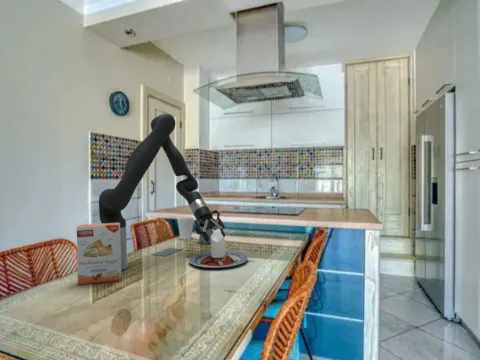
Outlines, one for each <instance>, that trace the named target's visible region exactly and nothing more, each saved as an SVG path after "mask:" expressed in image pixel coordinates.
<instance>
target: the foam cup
mask: <svg viewBox="0 0 480 360" xmlns="http://www.w3.org/2000/svg"><path fill="white" fill-rule="evenodd" d="M193 223H194V216H180V217H179V216H178V217H177V226H178V232H179V237H180V240H181V239H184V240H183V241H187V240H186V239H190V240H192V234H193V228H194V226H193Z"/></svg>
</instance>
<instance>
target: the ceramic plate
mask: <svg viewBox="0 0 480 360" xmlns="http://www.w3.org/2000/svg"><path fill="white" fill-rule="evenodd" d="M248 259H249V257H248V256H247V254H245V253H243V252H240V251H235V250H225V256H224V257H221V258H213V257H211V250H210V251H204V252H199V253H196V254H193V255H192V256H190V257H189V258H188V262H189V263H190V264H191V265H193V266H196V267H201V268H208V269H209V268H210V269H221V268H229V267H234V266H237V265H241V264H244V263H245V262H246V261H247V260H248Z"/></svg>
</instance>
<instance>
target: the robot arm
mask: <svg viewBox="0 0 480 360" xmlns="http://www.w3.org/2000/svg"><path fill="white" fill-rule="evenodd" d="M150 128H151V131H150V132H149V134H148V135H147V136H146V137H145V138H144V139H143V140H142V141H141V142H140V143H139V144H138V145H137V146H136V147H135V148H134V150H133V152H132V153H131V154H130V156H129V157H128V159H127V161H126V165H125V168H124V174H123V175H122V178H121V179H120V180H119V182H118V183H117V185H116V186H115V187H114V188H106V189H104V190H103V191H101V192H100V194H99V197H98V212H99V220H100V224H104V223H120V242H121V271H123V270H126V269H127V268H128V251H127V250H128V247H127V246H128V245H127V244H128V243H127V221H126V219H125V218H124V217H123V214H122V211H123V210H124V209H126V208H127V206H129V203H130V201H131V199H132V198H133V194H134V193H135V191H136V190H137V186H138V185H139V183H140V182H141V181H142V179H143V177H144V176H145V174H146V172H147V171H148V170H149V168H150V167H151V164H152V163H153V162H154V160H155V157H156V156H157V155H158V153H159V152H160V150H161V148H162V150H163V151H164V153H165V156H166V157H167V159H168V161H169V164H170V166H171V169H172V171H173V173H174V176H175V177H181V176H185V177H186V178H185V179H182V180H179V181H178V182H176V184H175V185H176V186H175V187H176V191H177V192H178V194H179V195H181V196H182V197H183V198H184V199H185V200H186V202H187V204H188V206H189V208H190V210H191V212H192V215H193V214H194V215H193V217H194V219H195V220H194V221H193V228H194V230H195V233H196V235H197V236H198V235H200V234H201V235H202V236H203V238H204V240H205V241H206V242H207V241H209V239H210V238H209V236H208V234H207V232H205V231H206V230H208V229H212V230H213V231H215V230H217V229H220V230H221V233H222V235H223V237H224V238H225V237H226V233H225V231H224V229H225V227H226V226H225V224H224V223H223V221H222V220H221V218H220V217H219V218H217V217H216V218H214V216H213V215H212V213H211V211H212V210H210V208H209V206H208V204H207V203H206V201H205V200H204V198H203V197H202V195H201V193H200V192H199V191H197V190H198V189H199V183H198V180H197V179H196V178H195V177H194V175H193V174H192V173H191V171H190V169H189V168H188V166H187V163H186V160H185V158H184V156H183V154H182V153H181V151H180V150H179V149H178V147H176V145H175V144H174V142H173V140H172V139H171V136H170V135H172V133H173V131H174V130H175V128H176V120H175V117H174V115H172V114H169V113H162V114H159V115H158V116H155V117H154V118H153V119H152V120H151V121H150ZM199 225H200V226H201V227H202V230H201V228H200V226H199ZM215 225H216V226H215ZM214 226H215V227H214Z"/></svg>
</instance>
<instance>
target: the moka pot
mask: <svg viewBox="0 0 480 360" xmlns="http://www.w3.org/2000/svg"><path fill="white" fill-rule="evenodd" d="M210 211H211V213H212V216H213V215H217V216H216V219H217V218H220V215H221V213H220V212H219V211H218V210H217V209H215V210H210ZM192 215H193V216H194V214H193V213H192ZM199 226H200V225H199ZM214 227H216V225H215V226H214ZM200 228H201V230H202V227H201V226H200ZM205 232H207V234H208V236H209V238H210V239H209V241H207V242H206V241H205V240H204V238H203V236H202V235H201V234H199V241H198V242H199V243H198V244H201V245H207V244H211V235H212V234H213V232H214V230H213V229H208V230H206V231H205Z"/></svg>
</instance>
